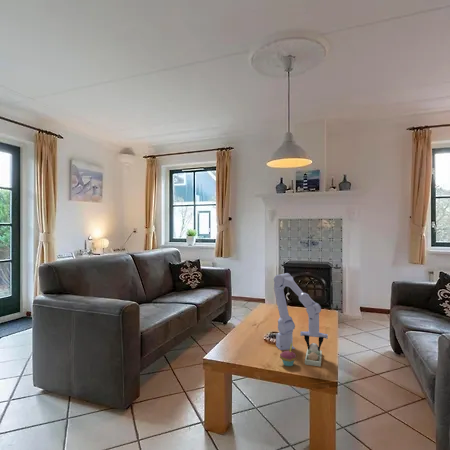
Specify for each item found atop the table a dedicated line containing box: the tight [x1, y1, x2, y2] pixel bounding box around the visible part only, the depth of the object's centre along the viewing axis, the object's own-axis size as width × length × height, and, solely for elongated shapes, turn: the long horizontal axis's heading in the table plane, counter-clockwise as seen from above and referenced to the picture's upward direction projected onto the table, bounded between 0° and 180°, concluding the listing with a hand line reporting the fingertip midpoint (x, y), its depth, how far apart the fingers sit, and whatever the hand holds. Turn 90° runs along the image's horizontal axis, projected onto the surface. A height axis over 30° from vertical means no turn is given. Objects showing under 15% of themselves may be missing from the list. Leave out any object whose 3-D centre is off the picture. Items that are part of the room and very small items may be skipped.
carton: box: [304, 348, 323, 367], centre depth 169 cm, size 16×8×2 cm, turn 161°
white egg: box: [309, 342, 319, 353], centre depth 173 cm, size 5×5×5 cm
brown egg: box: [308, 352, 318, 361], centre depth 165 cm, size 5×5×5 cm
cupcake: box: [279, 343, 297, 367], centre depth 163 cm, size 9×8×12 cm
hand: (313, 349), depth 172 cm, fingers closed on white egg, 5 cm apart
